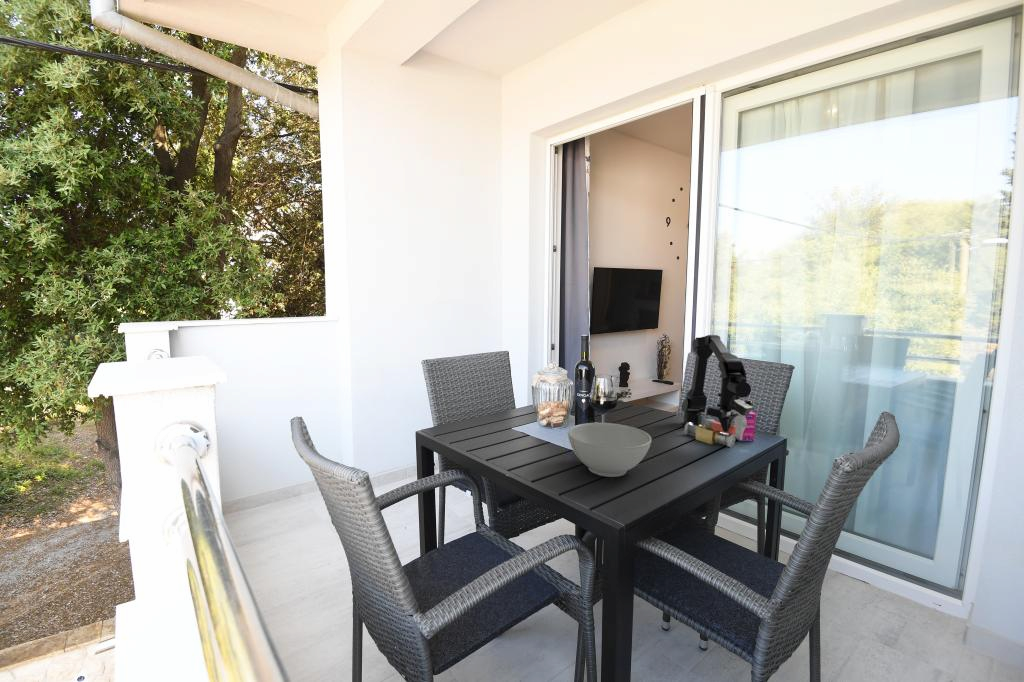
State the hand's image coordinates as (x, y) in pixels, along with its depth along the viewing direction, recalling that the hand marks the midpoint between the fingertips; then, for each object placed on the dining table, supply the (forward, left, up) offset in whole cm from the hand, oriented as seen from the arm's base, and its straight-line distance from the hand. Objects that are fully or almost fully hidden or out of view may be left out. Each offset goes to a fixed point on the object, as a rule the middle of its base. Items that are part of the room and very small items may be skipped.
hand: (725, 431), depth 185 cm
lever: (-4, +3, -1) cm, 5 cm away
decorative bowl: (-9, -55, -7) cm, 56 cm away
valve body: (-9, +3, -6) cm, 11 cm away
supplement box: (-2, +17, -7) cm, 18 cm away
